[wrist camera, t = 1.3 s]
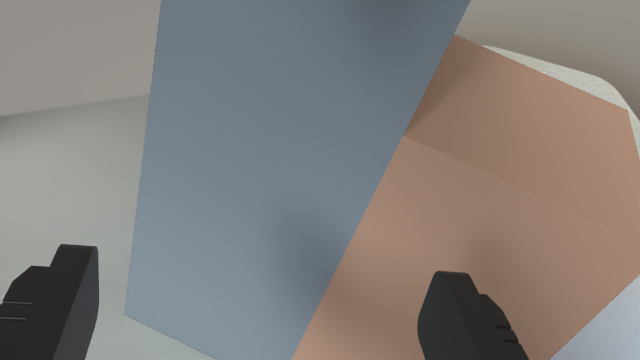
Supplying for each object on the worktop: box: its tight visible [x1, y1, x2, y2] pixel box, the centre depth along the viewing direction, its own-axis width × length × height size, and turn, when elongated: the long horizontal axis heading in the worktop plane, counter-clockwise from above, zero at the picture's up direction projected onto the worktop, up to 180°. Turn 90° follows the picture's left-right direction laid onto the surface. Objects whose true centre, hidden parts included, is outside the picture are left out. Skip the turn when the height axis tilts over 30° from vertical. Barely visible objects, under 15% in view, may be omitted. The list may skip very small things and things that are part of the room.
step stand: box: [124, 0, 640, 360], centre depth 30 cm, size 22×12×32 cm, turn 71°
